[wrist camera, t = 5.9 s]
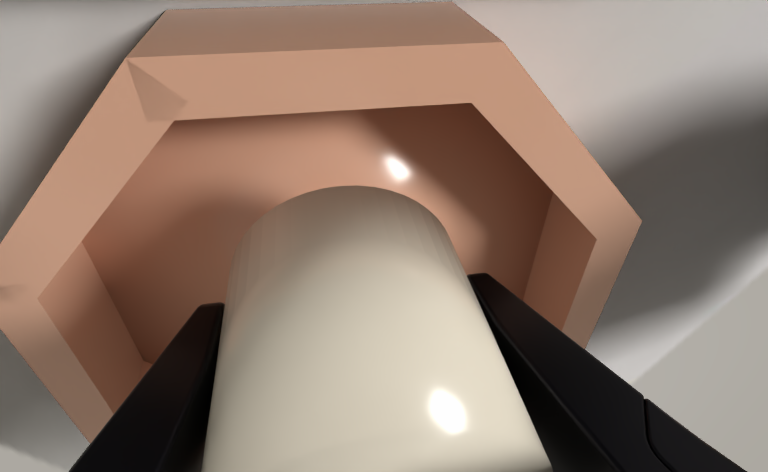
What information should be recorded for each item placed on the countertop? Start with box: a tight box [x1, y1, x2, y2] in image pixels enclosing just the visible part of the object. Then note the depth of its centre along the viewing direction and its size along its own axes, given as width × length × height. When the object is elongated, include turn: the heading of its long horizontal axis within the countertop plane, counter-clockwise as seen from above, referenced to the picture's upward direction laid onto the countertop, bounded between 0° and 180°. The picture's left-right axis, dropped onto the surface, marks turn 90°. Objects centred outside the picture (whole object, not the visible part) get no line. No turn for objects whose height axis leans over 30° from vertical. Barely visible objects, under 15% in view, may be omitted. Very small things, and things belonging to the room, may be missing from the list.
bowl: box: [0, 2, 642, 443], centre depth 13 cm, size 14×14×3 cm
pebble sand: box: [201, 185, 553, 472], centre depth 7 cm, size 4×4×4 cm
